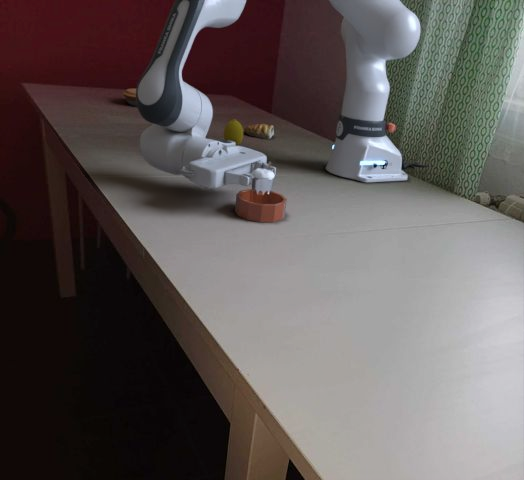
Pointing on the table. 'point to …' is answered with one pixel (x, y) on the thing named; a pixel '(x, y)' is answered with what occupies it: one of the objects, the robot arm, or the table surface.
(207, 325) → the table surface
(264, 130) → the pastry
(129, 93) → the pie
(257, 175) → the milkshake
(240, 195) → the orange round shallow bowl
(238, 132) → the lemon
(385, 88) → the robot arm
